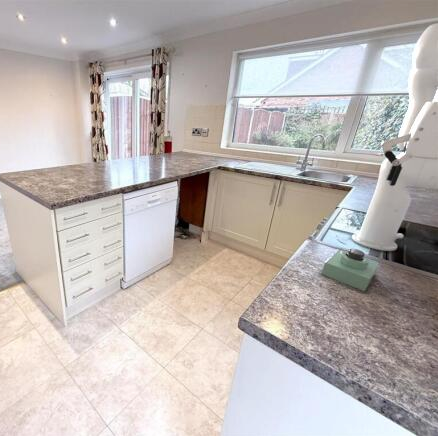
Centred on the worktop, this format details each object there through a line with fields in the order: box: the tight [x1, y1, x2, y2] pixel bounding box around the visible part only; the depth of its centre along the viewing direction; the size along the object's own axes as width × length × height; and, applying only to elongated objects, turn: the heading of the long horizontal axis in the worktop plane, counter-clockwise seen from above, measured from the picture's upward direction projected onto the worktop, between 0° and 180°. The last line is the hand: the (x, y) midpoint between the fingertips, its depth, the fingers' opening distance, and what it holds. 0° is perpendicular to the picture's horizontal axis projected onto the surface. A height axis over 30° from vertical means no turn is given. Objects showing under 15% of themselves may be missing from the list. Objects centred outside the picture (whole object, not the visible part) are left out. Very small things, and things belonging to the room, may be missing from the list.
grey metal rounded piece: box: [346, 248, 366, 261], centre depth 69 cm, size 4×4×2 cm
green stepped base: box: [320, 249, 380, 292], centre depth 70 cm, size 12×10×6 cm
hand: (424, 188), depth 49 cm, fingers open, 9 cm apart
